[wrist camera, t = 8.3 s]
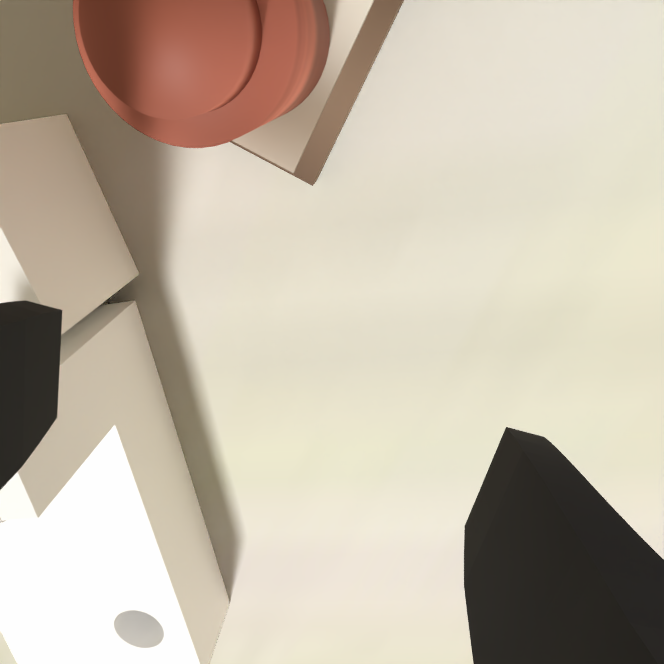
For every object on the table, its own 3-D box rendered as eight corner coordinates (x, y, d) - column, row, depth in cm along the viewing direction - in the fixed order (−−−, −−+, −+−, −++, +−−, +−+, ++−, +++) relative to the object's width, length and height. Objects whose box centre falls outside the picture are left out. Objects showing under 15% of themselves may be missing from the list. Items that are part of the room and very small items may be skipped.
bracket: (-52, 322, 21) (-272, 446, 15) (138, 297, 20) (-5, 421, 13) (73, 603, 26) (-48, 795, 19) (231, 597, 25) (162, 801, 18)
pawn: (297, -87, 14) (228, -172, 9) (351, 91, 16) (320, 111, 10) (144, -21, 15) (-4, -61, 10) (209, 141, 17) (111, 185, 11)
